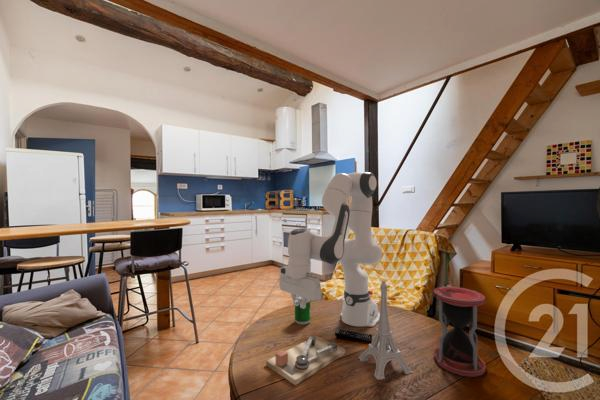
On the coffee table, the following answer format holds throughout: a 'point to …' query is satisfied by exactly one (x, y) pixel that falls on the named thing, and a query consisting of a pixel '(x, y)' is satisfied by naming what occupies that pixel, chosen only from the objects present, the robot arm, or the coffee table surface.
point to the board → (299, 375)
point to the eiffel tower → (384, 342)
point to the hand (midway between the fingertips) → (299, 306)
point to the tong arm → (306, 352)
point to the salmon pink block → (281, 358)
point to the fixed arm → (319, 355)
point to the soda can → (302, 313)
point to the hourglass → (459, 331)
